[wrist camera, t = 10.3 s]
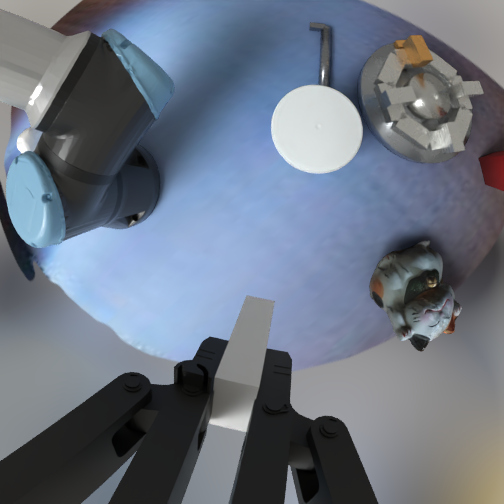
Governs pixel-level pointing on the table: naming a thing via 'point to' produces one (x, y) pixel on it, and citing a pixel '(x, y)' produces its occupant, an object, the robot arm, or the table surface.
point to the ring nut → (395, 98)
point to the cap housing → (406, 107)
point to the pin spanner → (324, 52)
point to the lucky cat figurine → (415, 294)
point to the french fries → (493, 169)
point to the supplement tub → (316, 129)
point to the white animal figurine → (28, 140)
